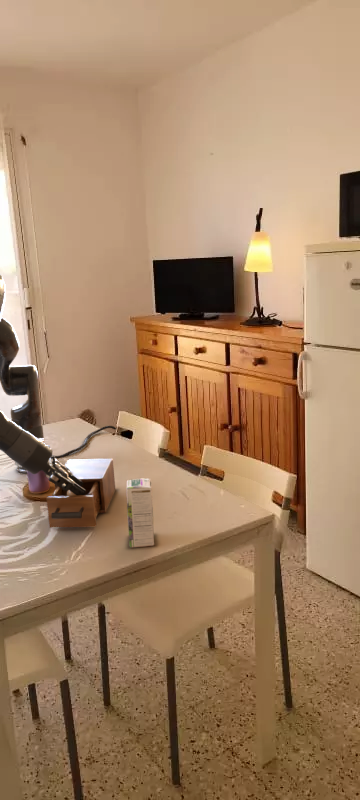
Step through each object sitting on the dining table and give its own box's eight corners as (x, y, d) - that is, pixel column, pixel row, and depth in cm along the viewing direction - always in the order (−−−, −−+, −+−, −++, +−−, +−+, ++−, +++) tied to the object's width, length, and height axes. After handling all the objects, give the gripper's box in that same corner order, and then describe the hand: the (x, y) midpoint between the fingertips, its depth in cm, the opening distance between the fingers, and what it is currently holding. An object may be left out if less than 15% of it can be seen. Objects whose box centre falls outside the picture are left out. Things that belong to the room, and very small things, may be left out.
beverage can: (45, 494, 174) (39, 444, 170) (25, 494, 175) (19, 444, 171) (53, 486, 179) (48, 437, 176) (34, 486, 181) (28, 437, 177)
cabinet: (105, 513, 159) (102, 478, 157) (57, 514, 160) (54, 479, 158) (115, 490, 174) (112, 458, 172) (71, 491, 175) (68, 459, 173)
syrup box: (129, 537, 145) (125, 479, 142) (154, 534, 146) (150, 477, 142) (129, 548, 140) (125, 488, 136) (155, 546, 140) (151, 486, 137)
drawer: (91, 535, 145) (88, 504, 143) (44, 536, 146) (40, 505, 144) (106, 502, 164) (103, 475, 162) (64, 503, 165) (61, 476, 163)
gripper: (39, 448, 142) (95, 489, 147) (36, 431, 155) (88, 469, 161) (18, 472, 142) (75, 512, 147) (17, 454, 155) (70, 491, 161)
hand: (82, 490), depth 154 cm, fingers open, 5 cm apart
